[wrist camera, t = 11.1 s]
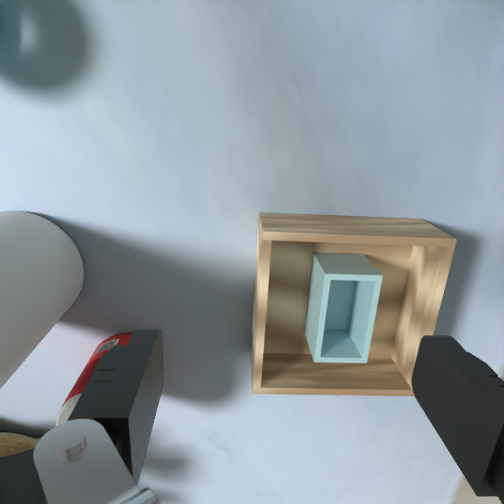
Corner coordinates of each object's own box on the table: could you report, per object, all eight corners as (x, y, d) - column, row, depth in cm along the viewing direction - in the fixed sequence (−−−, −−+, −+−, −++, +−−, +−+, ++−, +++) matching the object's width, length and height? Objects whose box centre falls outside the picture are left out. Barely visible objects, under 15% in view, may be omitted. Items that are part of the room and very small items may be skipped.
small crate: (313, 252, 42) (325, 273, 36) (363, 253, 42) (382, 275, 37) (304, 331, 45) (314, 362, 40) (350, 332, 46) (366, 363, 40)
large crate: (258, 212, 41) (263, 231, 34) (422, 219, 42) (457, 239, 35) (250, 354, 47) (252, 393, 40) (392, 357, 48) (417, 396, 41)
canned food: (86, 372, 47) (44, 445, 37) (108, 320, 45) (69, 383, 34) (145, 393, 48) (120, 469, 38) (169, 344, 46) (150, 411, 36)
